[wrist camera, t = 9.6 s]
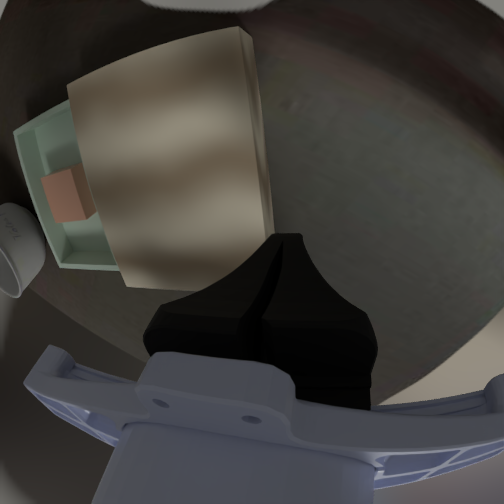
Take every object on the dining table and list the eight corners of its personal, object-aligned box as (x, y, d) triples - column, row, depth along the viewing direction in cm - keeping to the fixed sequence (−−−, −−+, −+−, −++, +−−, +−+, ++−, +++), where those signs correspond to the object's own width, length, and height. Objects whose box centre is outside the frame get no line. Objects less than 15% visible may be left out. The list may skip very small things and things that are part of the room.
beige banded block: (277, 262, 24) (271, 293, 21) (146, 261, 27) (126, 286, 24) (252, 37, 15) (238, 26, 12) (99, 80, 18) (66, 85, 14)
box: (139, 253, 27) (124, 270, 24) (74, 253, 29) (59, 267, 27) (96, 92, 18) (73, 97, 16) (33, 124, 21) (13, 131, 18)
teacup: (49, 202, 26) (0, 238, 19) (63, 274, 32) (28, 313, 25) (-6, 184, 26) (-46, 210, 20) (8, 246, 32) (-24, 275, 26)
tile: (55, 223, 24) (67, 214, 25) (86, 219, 23) (98, 210, 24) (40, 178, 21) (53, 170, 23) (70, 168, 20) (84, 161, 22)
